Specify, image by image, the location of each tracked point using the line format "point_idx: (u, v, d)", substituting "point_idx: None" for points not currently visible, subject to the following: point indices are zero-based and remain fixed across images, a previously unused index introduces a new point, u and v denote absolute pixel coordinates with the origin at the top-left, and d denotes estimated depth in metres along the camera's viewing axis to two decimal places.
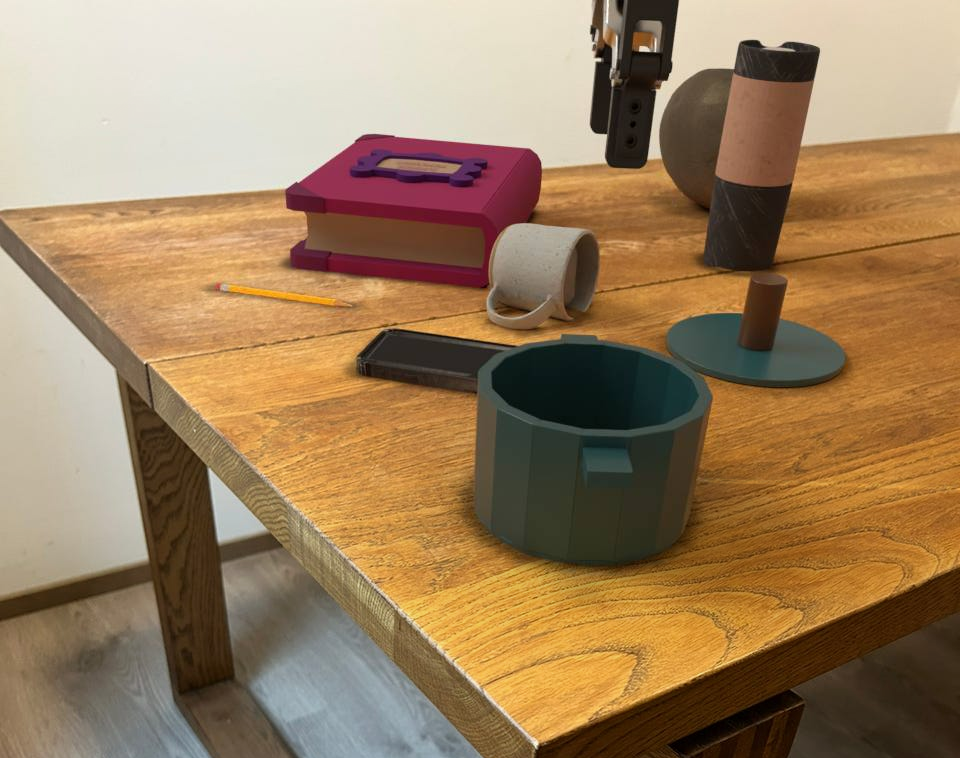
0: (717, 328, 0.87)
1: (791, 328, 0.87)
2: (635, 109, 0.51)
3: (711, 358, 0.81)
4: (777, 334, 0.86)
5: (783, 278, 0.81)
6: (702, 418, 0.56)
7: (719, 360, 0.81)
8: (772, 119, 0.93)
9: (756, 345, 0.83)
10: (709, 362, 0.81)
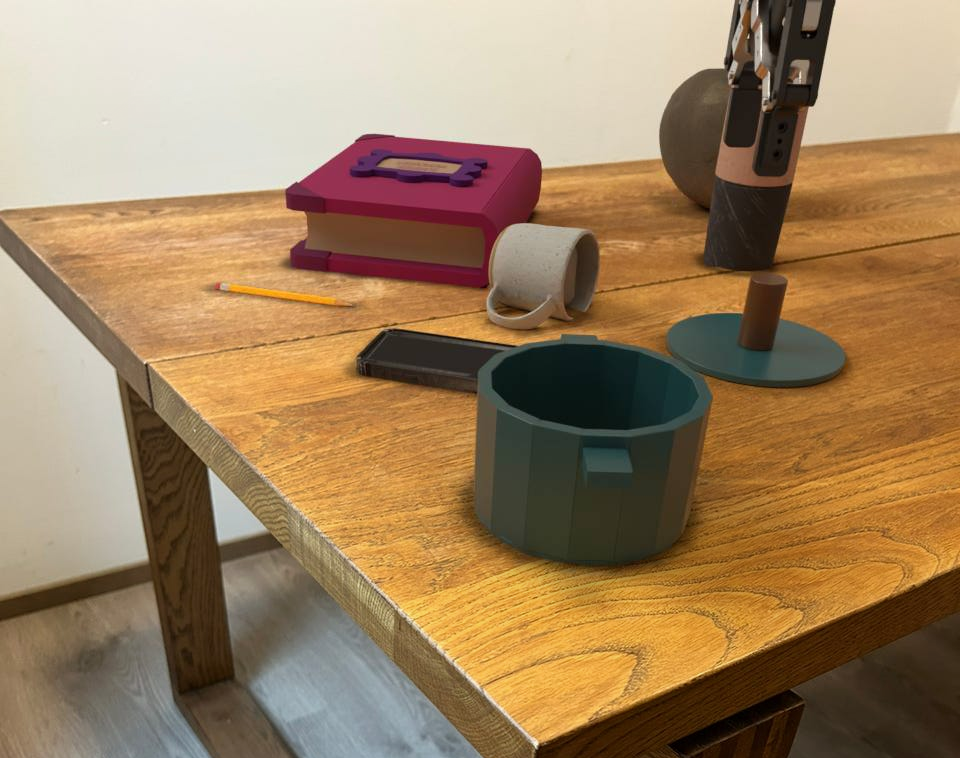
0: (717, 328, 0.87)
1: (791, 328, 0.87)
2: (781, 129, 0.63)
3: (711, 358, 0.81)
4: (777, 334, 0.86)
5: (783, 278, 0.81)
6: (702, 418, 0.56)
7: (719, 360, 0.81)
8: None
9: (756, 345, 0.83)
10: (709, 362, 0.81)
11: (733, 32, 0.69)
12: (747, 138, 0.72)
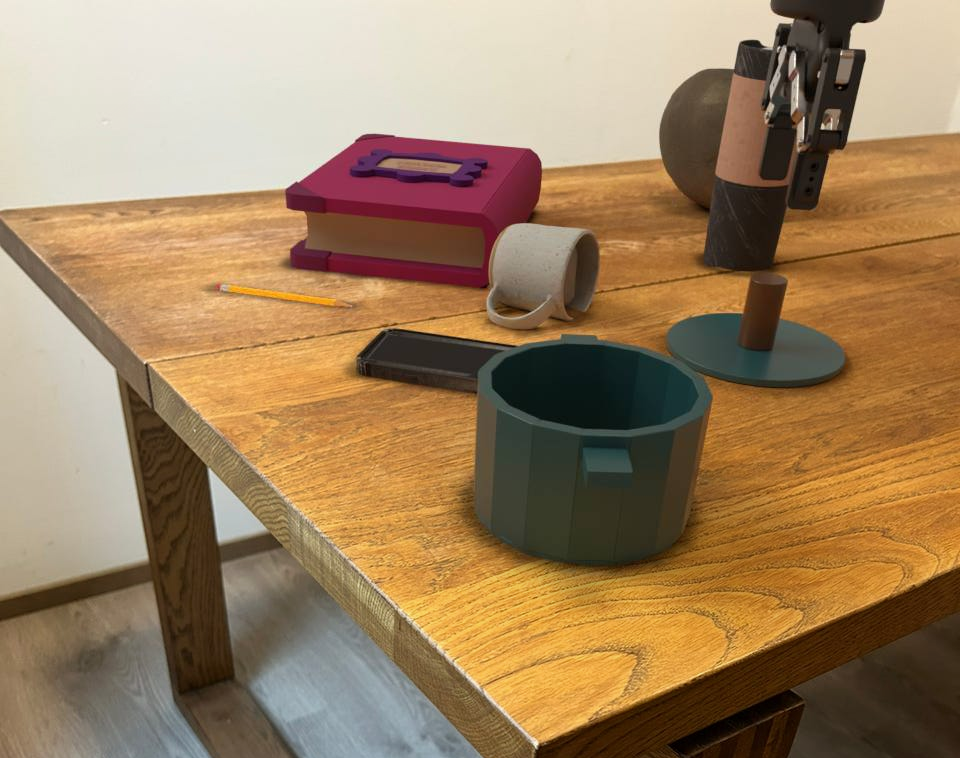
0: (717, 328, 0.87)
1: (791, 328, 0.87)
2: (813, 168, 0.71)
3: (711, 358, 0.81)
4: (777, 334, 0.86)
5: (783, 278, 0.81)
6: (702, 418, 0.56)
7: (719, 360, 0.81)
8: None
9: (756, 345, 0.83)
10: (709, 362, 0.81)
11: (770, 77, 0.77)
12: (780, 172, 0.79)
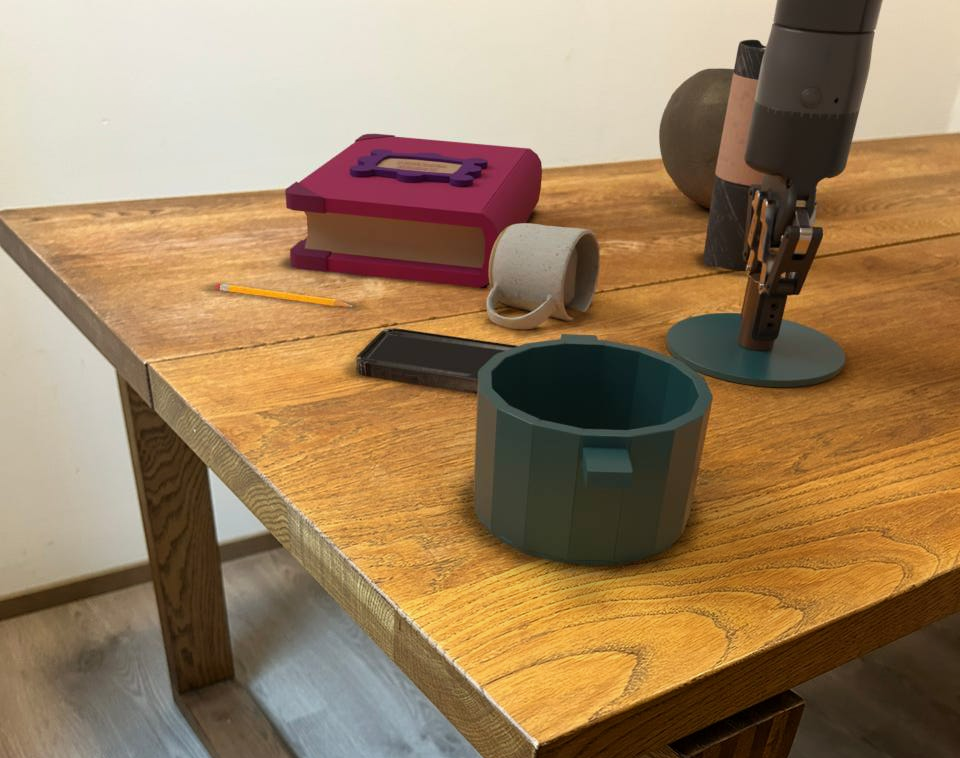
0: (717, 328, 0.87)
1: (791, 328, 0.87)
2: (773, 307, 0.80)
3: (711, 358, 0.81)
4: None
5: None
6: (702, 418, 0.56)
7: (719, 360, 0.81)
8: None
9: (756, 345, 0.83)
10: (709, 362, 0.81)
11: (749, 229, 0.83)
12: None
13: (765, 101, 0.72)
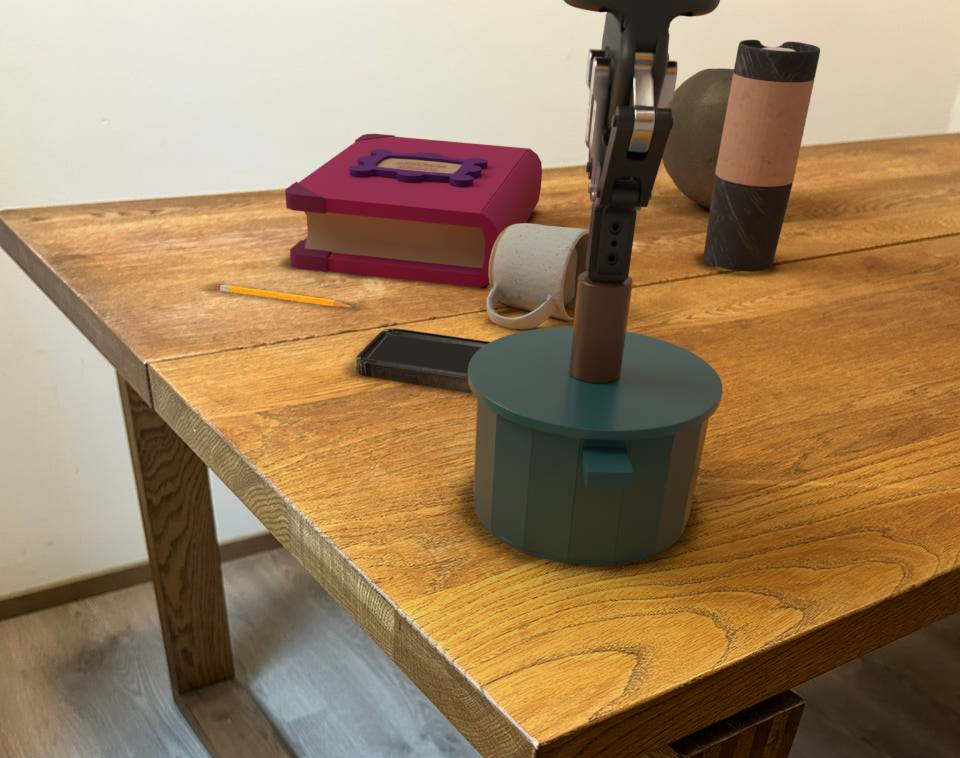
0: (547, 349, 0.61)
1: (655, 348, 0.62)
2: (616, 229, 0.52)
3: (522, 395, 0.55)
4: (631, 358, 0.60)
5: None
6: None
7: (533, 398, 0.55)
8: (772, 119, 0.93)
9: (592, 375, 0.57)
10: (517, 402, 0.55)
11: None
12: None
13: None
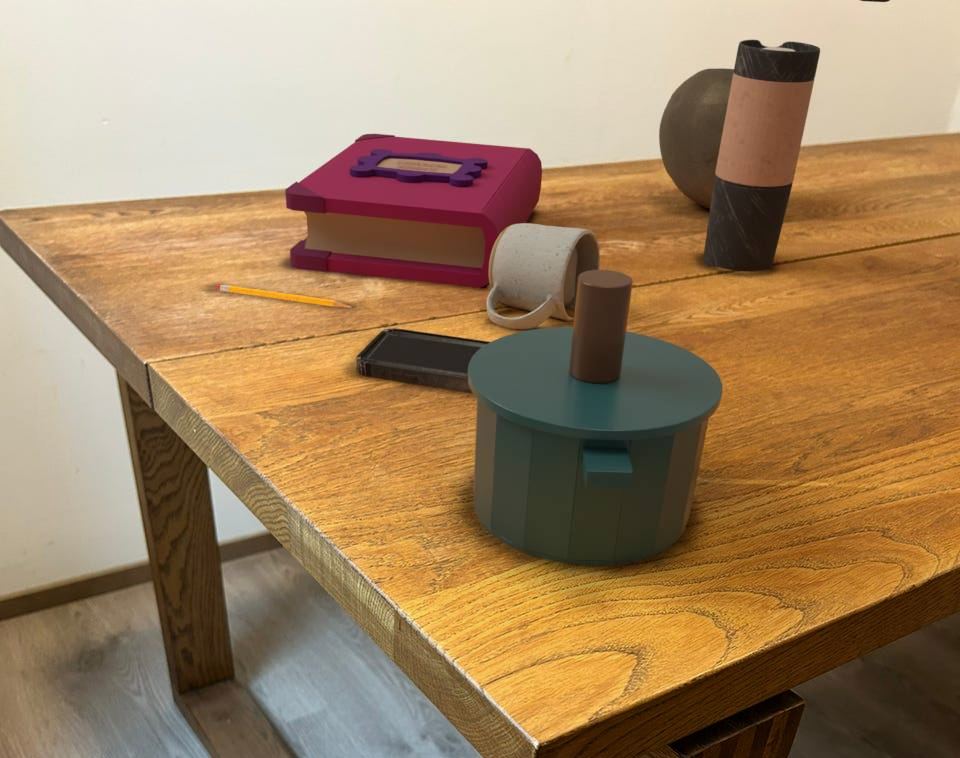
0: (547, 349, 0.61)
1: (655, 348, 0.62)
2: None
3: (522, 395, 0.55)
4: (631, 358, 0.60)
5: (626, 278, 0.55)
6: None
7: (533, 398, 0.55)
8: (772, 119, 0.93)
9: (592, 375, 0.57)
10: (517, 402, 0.55)
11: None
12: None
13: None
